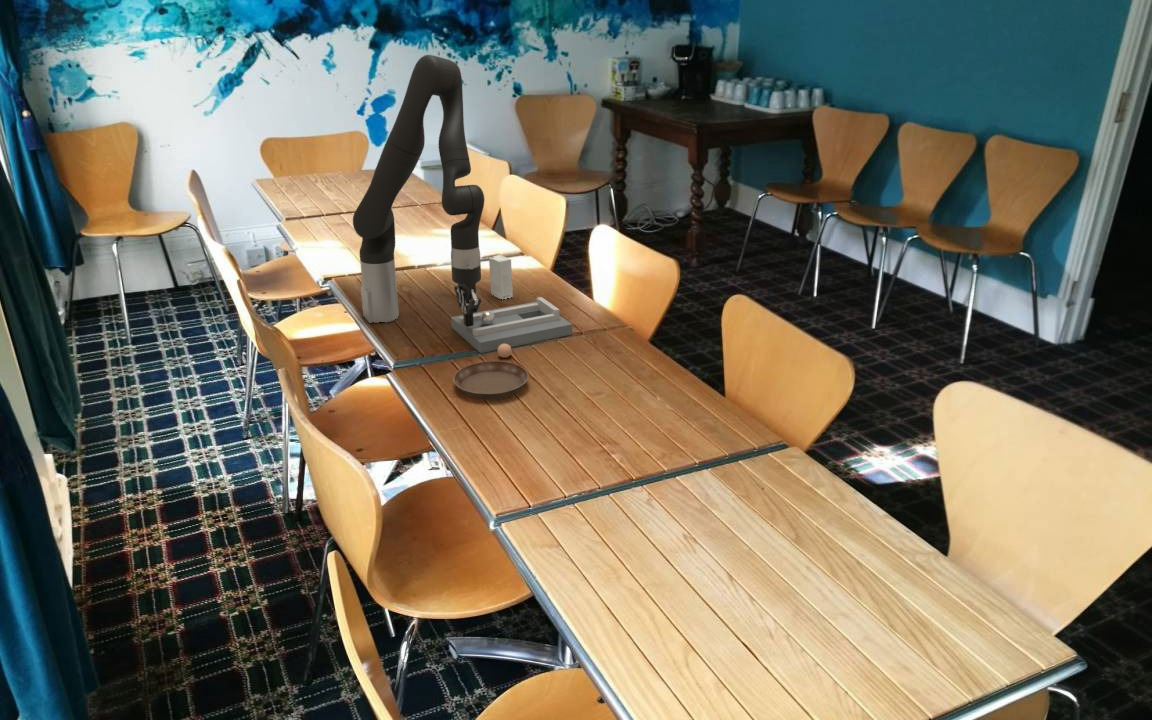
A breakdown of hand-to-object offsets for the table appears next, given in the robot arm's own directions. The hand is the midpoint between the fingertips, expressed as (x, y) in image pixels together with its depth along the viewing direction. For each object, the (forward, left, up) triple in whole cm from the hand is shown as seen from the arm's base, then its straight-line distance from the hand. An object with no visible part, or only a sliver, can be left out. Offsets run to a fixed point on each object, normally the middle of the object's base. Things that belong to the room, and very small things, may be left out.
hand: (468, 325), depth 234 cm
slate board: (+12, 0, -4) cm, 13 cm away
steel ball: (+5, 0, +1) cm, 6 cm away
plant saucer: (-7, -29, -5) cm, 30 cm away
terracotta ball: (+3, -15, -2) cm, 15 cm away
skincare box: (+21, +26, -4) cm, 34 cm away
